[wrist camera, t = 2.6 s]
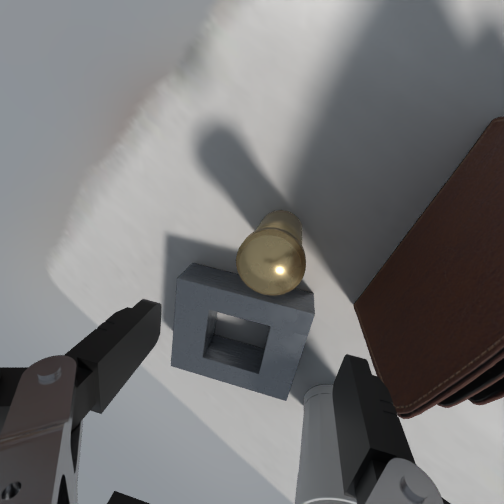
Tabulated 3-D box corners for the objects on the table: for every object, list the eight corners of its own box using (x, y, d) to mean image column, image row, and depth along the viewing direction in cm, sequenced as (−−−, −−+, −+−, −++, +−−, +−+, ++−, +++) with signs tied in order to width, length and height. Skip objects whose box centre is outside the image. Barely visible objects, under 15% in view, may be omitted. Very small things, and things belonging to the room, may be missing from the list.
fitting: (261, 202, 26) (240, 224, 17) (311, 213, 25) (314, 241, 17) (252, 248, 28) (230, 287, 19) (298, 259, 27) (295, 304, 19)
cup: (288, 384, 33) (280, 498, 22) (351, 374, 31) (377, 496, 20) (308, 428, 35) (310, 552, 24) (369, 422, 33) (401, 556, 22)
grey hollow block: (193, 262, 30) (177, 278, 26) (313, 293, 28) (314, 314, 24) (185, 343, 34) (170, 365, 31) (288, 373, 33) (286, 400, 29)
